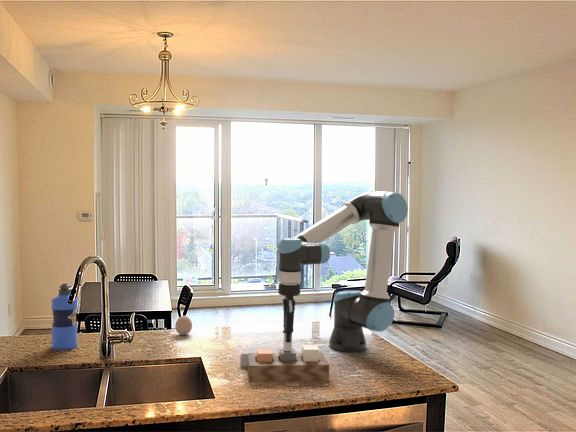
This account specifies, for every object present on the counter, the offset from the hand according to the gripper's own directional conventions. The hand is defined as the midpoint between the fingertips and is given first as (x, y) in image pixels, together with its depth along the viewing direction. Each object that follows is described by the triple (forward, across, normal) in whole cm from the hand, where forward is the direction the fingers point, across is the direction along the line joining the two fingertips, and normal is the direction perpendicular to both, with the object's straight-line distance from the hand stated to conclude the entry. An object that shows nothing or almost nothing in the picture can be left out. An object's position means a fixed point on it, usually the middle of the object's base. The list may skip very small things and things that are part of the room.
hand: (287, 350), depth 179 cm
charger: (+9, -15, -9) cm, 20 cm away
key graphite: (+6, 0, 0) cm, 6 cm away
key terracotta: (+6, 0, -8) cm, 10 cm away
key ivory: (+5, 0, +8) cm, 10 cm away
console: (+9, 0, 0) cm, 9 cm away
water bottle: (+9, -33, -84) cm, 91 cm away
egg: (+9, -49, -40) cm, 64 cm away
